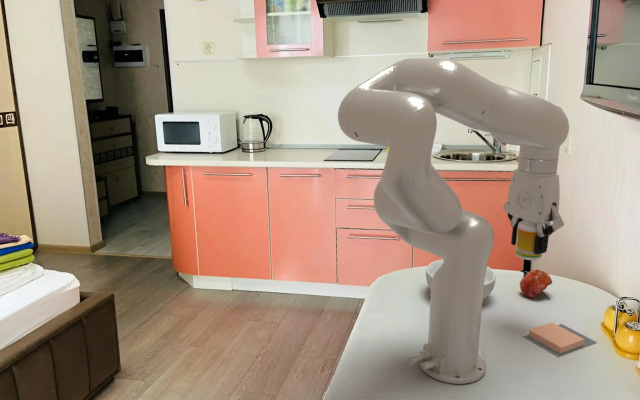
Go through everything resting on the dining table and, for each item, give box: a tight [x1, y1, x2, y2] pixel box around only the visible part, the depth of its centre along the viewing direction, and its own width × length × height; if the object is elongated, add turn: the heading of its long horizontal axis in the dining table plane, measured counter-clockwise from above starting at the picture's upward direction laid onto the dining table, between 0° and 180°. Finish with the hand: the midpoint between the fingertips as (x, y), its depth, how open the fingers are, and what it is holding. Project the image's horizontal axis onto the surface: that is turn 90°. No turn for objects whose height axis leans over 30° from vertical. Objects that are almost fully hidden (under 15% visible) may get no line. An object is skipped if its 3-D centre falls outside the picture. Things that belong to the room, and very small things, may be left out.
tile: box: [528, 321, 584, 354], centre depth 112 cm, size 2×8×7 cm
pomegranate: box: [519, 269, 553, 301], centre depth 132 cm, size 7×7×10 cm
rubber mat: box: [522, 323, 598, 358], centre depth 113 cm, size 12×9×1 cm
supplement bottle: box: [514, 219, 545, 261], centre depth 113 cm, size 5×5×10 cm
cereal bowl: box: [425, 258, 496, 300], centre depth 133 cm, size 17×17×7 cm
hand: (528, 247), depth 114 cm, fingers closed on supplement bottle, 5 cm apart
